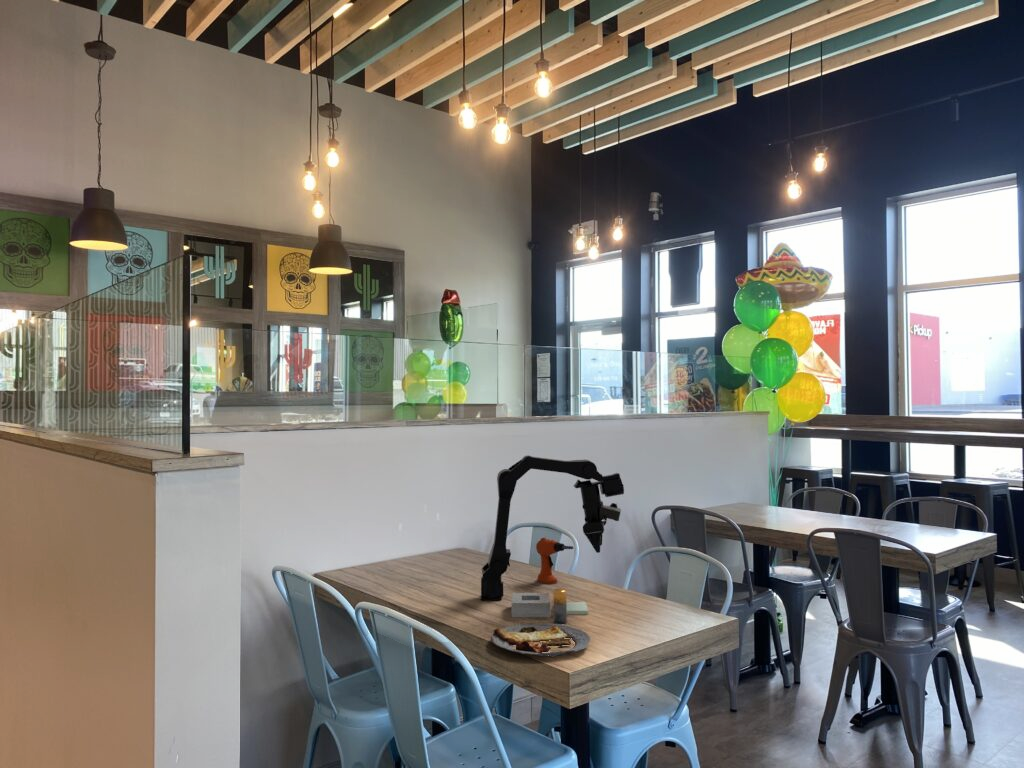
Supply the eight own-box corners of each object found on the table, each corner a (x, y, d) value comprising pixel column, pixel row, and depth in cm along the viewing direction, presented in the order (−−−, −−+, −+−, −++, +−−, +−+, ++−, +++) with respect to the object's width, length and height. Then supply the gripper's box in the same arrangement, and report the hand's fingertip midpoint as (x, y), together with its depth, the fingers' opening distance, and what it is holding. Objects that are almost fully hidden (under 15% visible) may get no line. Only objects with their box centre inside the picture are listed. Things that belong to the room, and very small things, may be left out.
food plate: (504, 664, 181) (505, 649, 181) (480, 635, 203) (481, 622, 203) (603, 656, 188) (604, 642, 188) (570, 629, 210) (570, 616, 210)
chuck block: (511, 617, 219) (511, 603, 219) (512, 606, 230) (511, 593, 230) (550, 617, 219) (550, 603, 219) (548, 606, 230) (548, 592, 230)
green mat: (556, 614, 222) (556, 610, 222) (555, 605, 231) (555, 602, 231) (588, 614, 222) (588, 610, 222) (585, 605, 231) (585, 602, 231)
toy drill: (570, 587, 247) (566, 539, 249) (534, 582, 262) (531, 538, 264) (581, 584, 250) (577, 537, 252) (545, 580, 265) (542, 536, 267)
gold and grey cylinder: (553, 625, 212) (553, 592, 212) (553, 621, 215) (553, 588, 215) (567, 625, 212) (566, 592, 212) (566, 621, 215) (566, 588, 215)
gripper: (615, 501, 232) (623, 553, 232) (618, 491, 250) (626, 539, 250) (579, 506, 234) (587, 557, 234) (584, 495, 252) (591, 543, 252)
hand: (599, 548), depth 243 cm, fingers open, 9 cm apart
